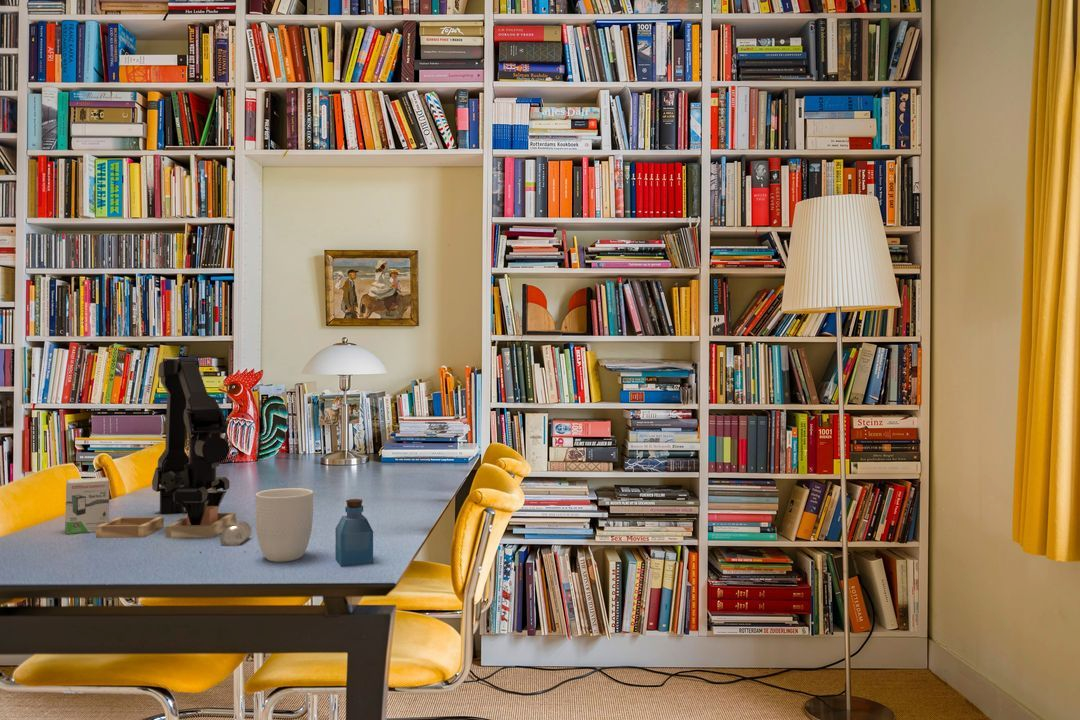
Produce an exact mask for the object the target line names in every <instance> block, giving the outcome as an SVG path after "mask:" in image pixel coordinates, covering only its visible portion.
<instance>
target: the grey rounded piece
mask: <svg viewBox="0 0 1080 720" xmlns="http://www.w3.org/2000/svg"><path fill="white" fill-rule="evenodd" d="M251 536H252V526H251V525H250V524H249V523H248V522H247V521H243V520H242V521H241V520H240V521H236V523H235V524H233V525H231V526H230V527H228V528H227V529H225V530H224V531H223V532H221V533H220V534H219V543H220V544H221V546H222V547H223V546H224V547H225V546H227V547H228V546H230V547H231V546H233V547H235V546H237V547H238V546H240V545H241V544H242V543H244V542H245V541H247V540H249V539H250V537H251Z"/></svg>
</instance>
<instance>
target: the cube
mask: <svg viewBox="0 0 1080 720" xmlns="http://www.w3.org/2000/svg"><path fill="white" fill-rule="evenodd" d="M218 510H219V508H218V506H207V507H206V509H205V512H204V515H203V518H202V521H201V524H200V525H211V524H213V523H214V522H216V521H218V513H219V511H218ZM186 516H187V525H191V523H190V520H189V517H188V514H187V513H186Z"/></svg>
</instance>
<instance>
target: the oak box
mask: <svg viewBox="0 0 1080 720" xmlns="http://www.w3.org/2000/svg"><path fill="white" fill-rule="evenodd" d="M164 519H165V518H164V516H138V517H137V516H127V517H125V516H124V517H123V516H118V517H115V518H114V519H111V520H110V519H109V521H108V522H106V523H103V524H101V525H98V526H96V532H95V539H97V538H98V539H101V538H102V539H104V538H105V539H106V538H107V539H108V538H111V539H113V538H114V539H115V538H116V539H117V538H118V539H119V538H121V539H122V538H127V539H129V538H146V537H147V536H150V535H152V534H155V533H156V532H158V531H160V530H162V529H164V525H165V523H164V522H165V520H164Z"/></svg>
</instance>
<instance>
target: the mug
mask: <svg viewBox="0 0 1080 720" xmlns="http://www.w3.org/2000/svg"><path fill="white" fill-rule="evenodd" d="M254 507H255V511H254V515H255V518H254V519H255V520H254V521H255V522H254V523H255V531H256V537H257V542H258V545H259V548H260V550H261V552H262V554H263V556H264V557H265V558H266V559H267V561H270V562H276V563H283V562H286V563H287V562H292V561H296V560H299V559H300V558H302V556H303V555H304V554H305V552H306V550H307V548H308V546H309V543H310V539H311V535H312V528H313V521H314V491H313V490H311V489H308V488H301V487H300V488H299V487H295V488H294V487H293V488H292V487H289V488H285V487H284V488H273V489H266V490H261V491H258V492H256V494H255V506H254Z"/></svg>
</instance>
